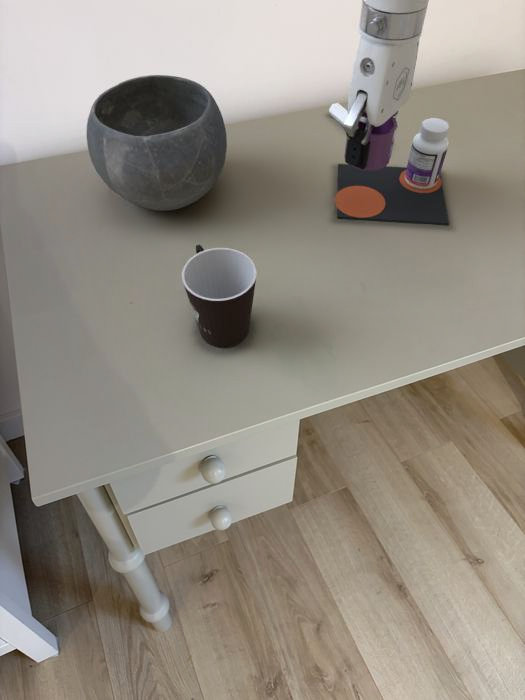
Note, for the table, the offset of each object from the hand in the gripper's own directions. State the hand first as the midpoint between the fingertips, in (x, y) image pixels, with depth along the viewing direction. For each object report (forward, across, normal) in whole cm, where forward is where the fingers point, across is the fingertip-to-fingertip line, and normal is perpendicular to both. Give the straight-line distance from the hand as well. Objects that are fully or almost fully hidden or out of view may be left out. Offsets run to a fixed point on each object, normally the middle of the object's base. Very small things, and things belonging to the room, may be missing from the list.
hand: (368, 151), depth 77 cm
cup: (+1, 0, 0) cm, 1 cm away
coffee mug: (+9, -32, +2) cm, 33 cm away
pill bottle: (+9, +10, -6) cm, 15 cm away
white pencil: (+9, +17, +10) cm, 22 cm away
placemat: (+9, +5, -3) cm, 11 cm away
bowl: (+9, -16, +27) cm, 32 cm away
